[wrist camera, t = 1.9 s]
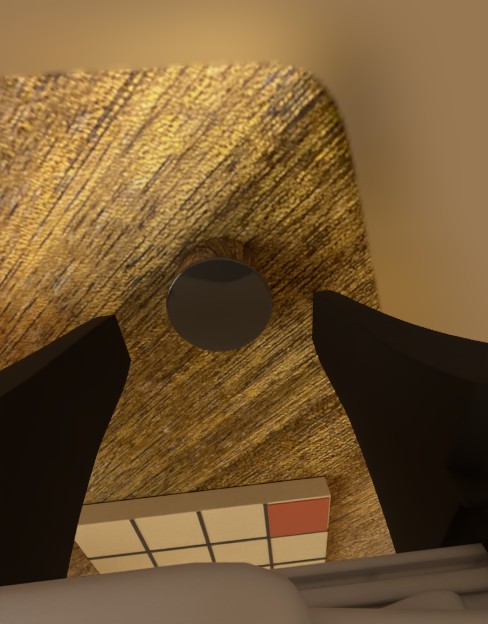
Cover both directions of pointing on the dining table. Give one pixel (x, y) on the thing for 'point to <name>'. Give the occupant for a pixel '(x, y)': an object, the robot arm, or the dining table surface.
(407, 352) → the robot arm
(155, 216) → the dining table surface
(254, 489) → the board
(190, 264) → the dark grey cylinder
